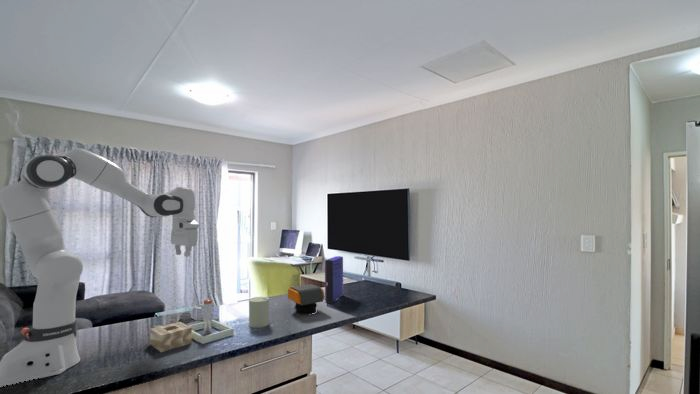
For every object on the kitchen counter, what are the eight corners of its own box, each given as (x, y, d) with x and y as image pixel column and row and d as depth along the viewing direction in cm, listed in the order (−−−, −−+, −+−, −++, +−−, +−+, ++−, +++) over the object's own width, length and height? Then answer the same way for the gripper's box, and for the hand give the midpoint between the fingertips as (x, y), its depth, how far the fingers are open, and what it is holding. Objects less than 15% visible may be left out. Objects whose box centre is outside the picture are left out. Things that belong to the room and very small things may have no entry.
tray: (202, 346, 131) (202, 337, 132) (183, 335, 143) (183, 327, 144) (233, 336, 141) (233, 328, 141) (212, 327, 153) (212, 319, 153)
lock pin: (205, 336, 140) (206, 302, 140) (202, 334, 142) (202, 300, 143) (213, 334, 142) (213, 300, 143) (209, 332, 144) (209, 299, 145)
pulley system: (152, 326, 158) (153, 334, 146) (152, 315, 159) (154, 322, 146) (214, 318, 173) (220, 324, 160) (214, 308, 173) (220, 314, 161)
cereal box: (336, 295, 210) (335, 256, 211) (343, 295, 209) (342, 256, 210) (325, 302, 194) (324, 260, 195) (332, 302, 192) (332, 260, 193)
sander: (303, 302, 194) (303, 279, 195) (325, 312, 173) (325, 287, 174) (279, 306, 186) (279, 283, 186) (299, 318, 165) (299, 291, 166)
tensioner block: (160, 354, 124) (161, 335, 124) (150, 347, 131) (150, 328, 132) (191, 345, 132) (191, 327, 132) (179, 338, 140) (180, 321, 140)
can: (266, 327, 152) (266, 300, 153) (246, 327, 152) (246, 300, 153) (271, 321, 161) (271, 295, 162) (251, 321, 161) (252, 295, 162)
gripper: (167, 223, 155) (166, 254, 154) (185, 224, 141) (184, 258, 140) (181, 223, 159) (180, 253, 158) (200, 224, 145) (199, 256, 145)
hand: (182, 255), depth 149 cm, fingers open, 8 cm apart
